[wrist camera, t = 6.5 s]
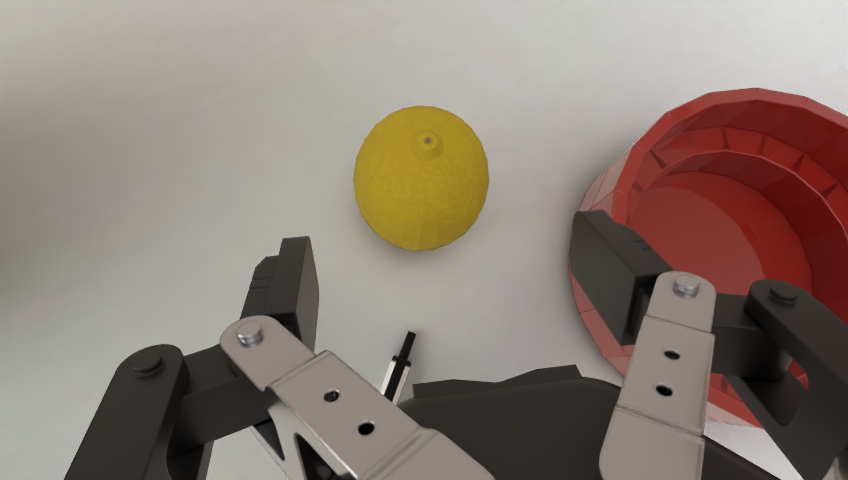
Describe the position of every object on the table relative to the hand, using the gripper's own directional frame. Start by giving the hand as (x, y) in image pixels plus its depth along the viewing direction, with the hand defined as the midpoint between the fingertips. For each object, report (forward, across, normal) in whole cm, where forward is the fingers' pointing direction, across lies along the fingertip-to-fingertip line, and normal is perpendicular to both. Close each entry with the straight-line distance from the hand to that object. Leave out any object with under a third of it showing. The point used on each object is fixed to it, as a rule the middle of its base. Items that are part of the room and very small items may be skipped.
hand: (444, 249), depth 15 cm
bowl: (+6, -14, +7) cm, 16 cm away
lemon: (+9, 0, +4) cm, 10 cm away
